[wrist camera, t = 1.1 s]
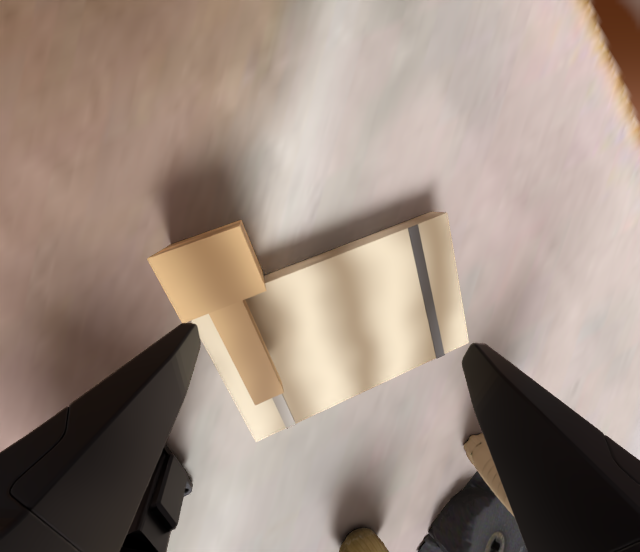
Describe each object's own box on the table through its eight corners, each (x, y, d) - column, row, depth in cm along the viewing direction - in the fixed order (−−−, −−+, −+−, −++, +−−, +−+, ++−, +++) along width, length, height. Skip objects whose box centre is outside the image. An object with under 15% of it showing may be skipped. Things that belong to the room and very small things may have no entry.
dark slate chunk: (505, 576, 42) (535, 620, 38) (404, 547, 35) (427, 598, 30) (571, 498, 41) (610, 534, 37) (482, 450, 34) (517, 489, 29)
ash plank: (255, 423, 25) (255, 443, 23) (192, 303, 21) (186, 314, 19) (453, 332, 27) (469, 343, 25) (431, 211, 24) (448, 212, 22)
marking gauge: (235, 371, 23) (232, 415, 18) (170, 244, 19) (146, 258, 15) (293, 346, 24) (305, 383, 19) (241, 219, 20) (239, 225, 15)
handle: (468, 417, 31) (654, 599, 17) (503, 434, 33) (694, 609, 19) (443, 452, 31) (603, 658, 17) (479, 467, 34) (647, 661, 19)
